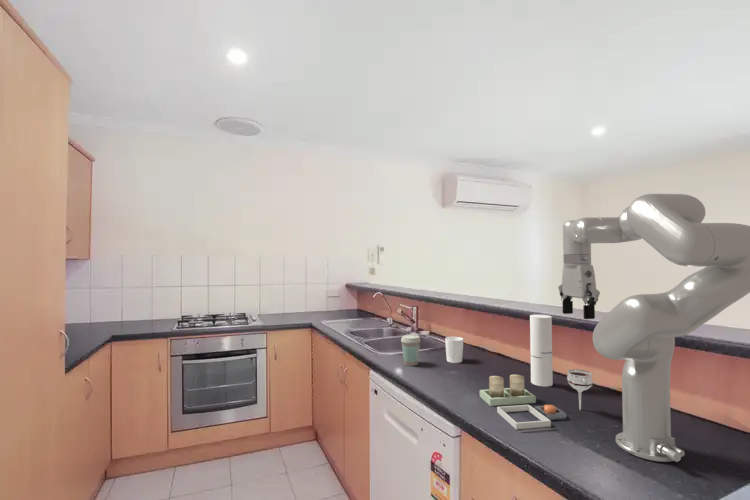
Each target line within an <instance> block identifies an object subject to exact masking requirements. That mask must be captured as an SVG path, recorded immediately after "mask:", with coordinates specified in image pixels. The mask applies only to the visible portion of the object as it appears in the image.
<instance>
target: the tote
mask: <svg viewBox="0 0 750 500" xmlns="http://www.w3.org/2000/svg"><path fill="white" fill-rule="evenodd" d="M496 410H497V411H496V412H497V413H498V414H499V415H500V416H501V417H502V418H503V420H505V421H506V422H507V423H509V424H510V426H511V427H513V428H514V429H515V432H524V431H537V430H549V429H551V427H552V420H549V419H548V418H546V417H545V416H544V415H542V414H541V413H539V412H538V411H537V410H535V407H534V406H531V405H530V404H515V405H502V406H496ZM526 411H528V412H530V413H531V414H532V415H533V416H534V417H536V418H537V419H538V420H533V421H532V420H531V421H520V422H519V421H518V422H517V421H516V420H514V419H513V418H512V417H511V416H510V415H509V414H507V413H514V412H526Z"/></svg>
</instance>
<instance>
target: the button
mask: <svg viewBox="0 0 750 500" xmlns="http://www.w3.org/2000/svg"><path fill="white" fill-rule="evenodd" d="M553 405H554V404H544V405H543V406H544V411H545V412H547V413H556V407H557V406H556V407H555V405H554V406H553Z"/></svg>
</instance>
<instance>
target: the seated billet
mask: <svg viewBox="0 0 750 500" xmlns="http://www.w3.org/2000/svg"><path fill="white" fill-rule="evenodd" d="M509 388H510V394H511V395H512V396H525V393H524V389H525V376H524V375H520V374H510V375H509Z"/></svg>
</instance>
